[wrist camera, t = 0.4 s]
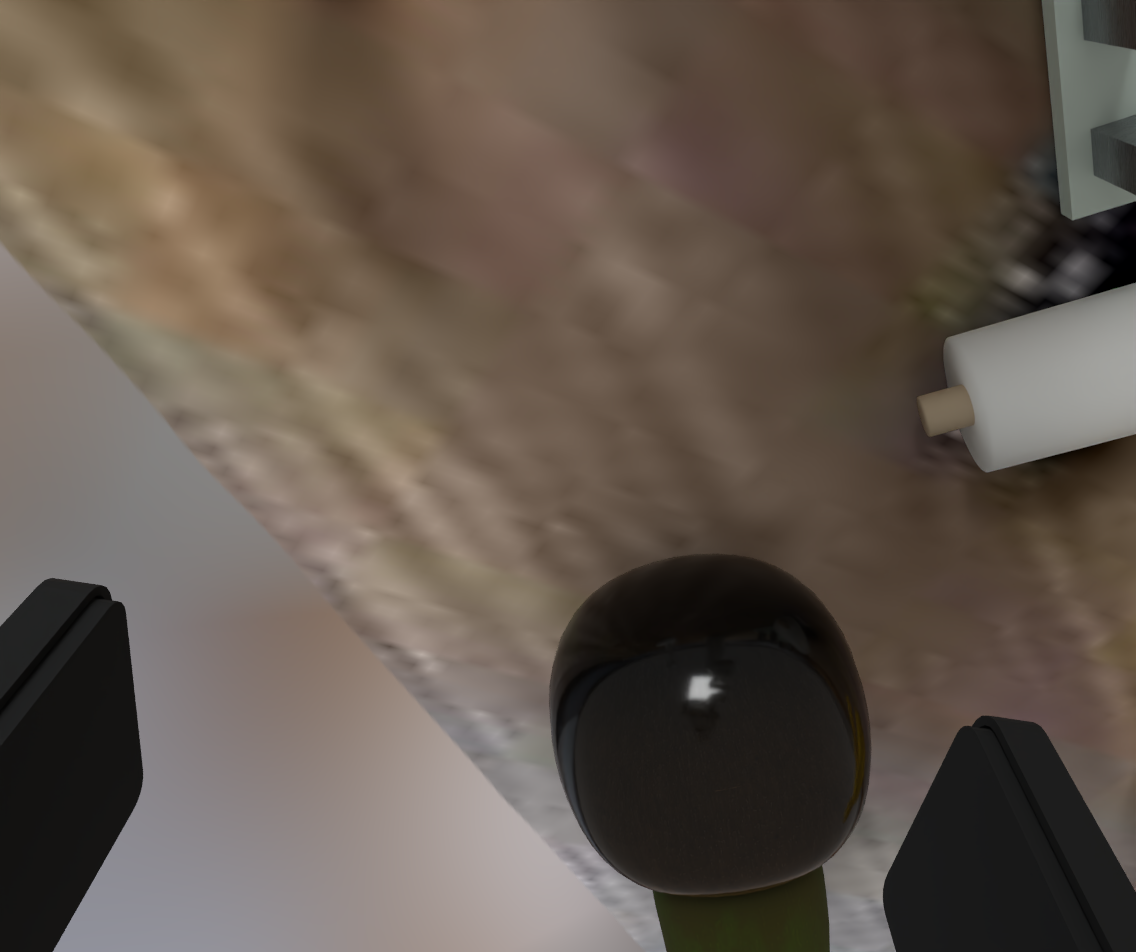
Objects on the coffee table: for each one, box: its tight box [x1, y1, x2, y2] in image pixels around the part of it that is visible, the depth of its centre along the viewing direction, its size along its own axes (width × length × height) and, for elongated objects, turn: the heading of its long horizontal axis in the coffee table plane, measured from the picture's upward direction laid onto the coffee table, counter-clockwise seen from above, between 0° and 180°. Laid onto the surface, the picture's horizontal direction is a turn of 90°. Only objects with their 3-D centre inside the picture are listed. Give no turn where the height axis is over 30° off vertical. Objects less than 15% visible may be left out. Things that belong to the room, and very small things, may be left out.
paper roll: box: [917, 283, 1136, 472], centre depth 42 cm, size 7×15×7 cm, turn 109°
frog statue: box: [549, 554, 871, 952], centre depth 49 cm, size 19×16×25 cm
